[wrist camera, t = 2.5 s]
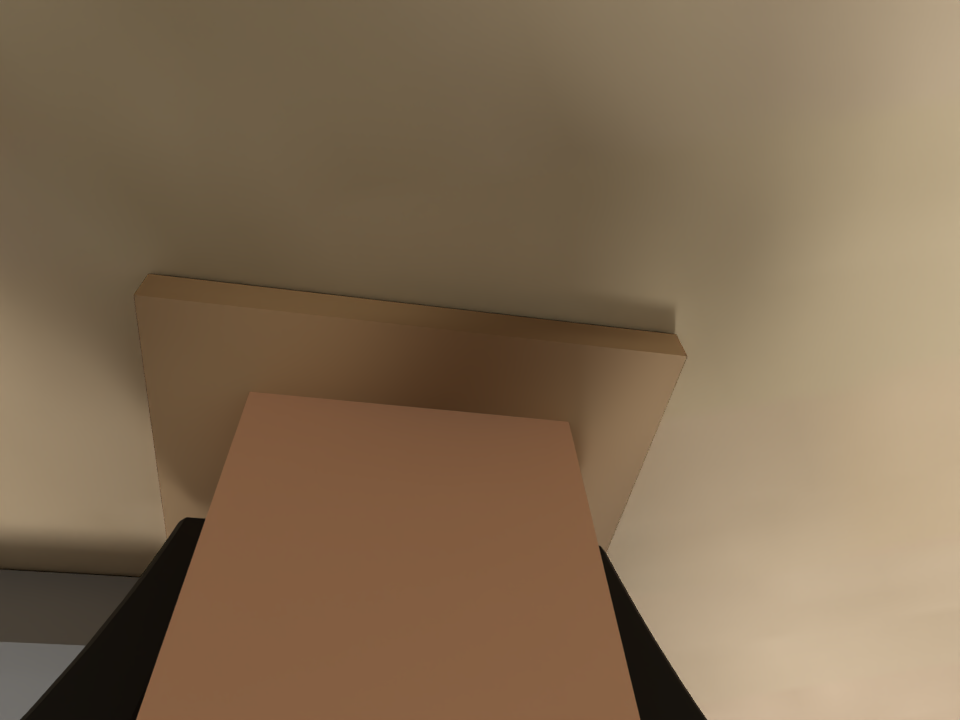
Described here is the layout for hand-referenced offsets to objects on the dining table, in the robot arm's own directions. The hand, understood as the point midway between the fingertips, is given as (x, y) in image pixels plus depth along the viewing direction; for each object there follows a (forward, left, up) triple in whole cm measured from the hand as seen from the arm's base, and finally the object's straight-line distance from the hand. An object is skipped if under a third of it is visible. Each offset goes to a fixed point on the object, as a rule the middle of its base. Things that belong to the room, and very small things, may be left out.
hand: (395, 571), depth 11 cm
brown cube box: (0, 0, -1) cm, 1 cm away
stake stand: (0, 0, -2) cm, 2 cm away
